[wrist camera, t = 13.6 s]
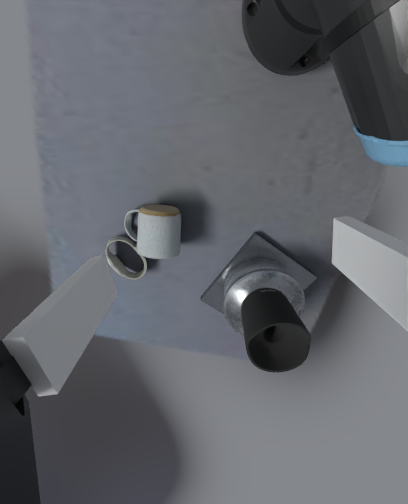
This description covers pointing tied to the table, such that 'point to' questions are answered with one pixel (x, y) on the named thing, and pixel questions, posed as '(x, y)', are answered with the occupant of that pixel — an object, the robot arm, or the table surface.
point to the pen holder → (273, 331)
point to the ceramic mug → (156, 230)
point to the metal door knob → (257, 279)
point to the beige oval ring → (118, 265)
